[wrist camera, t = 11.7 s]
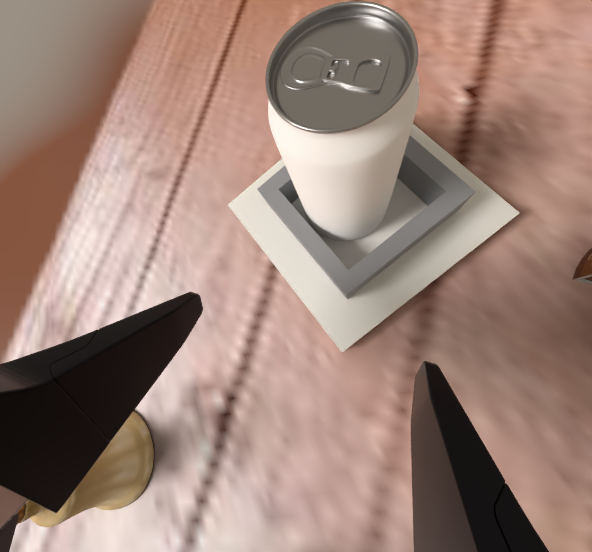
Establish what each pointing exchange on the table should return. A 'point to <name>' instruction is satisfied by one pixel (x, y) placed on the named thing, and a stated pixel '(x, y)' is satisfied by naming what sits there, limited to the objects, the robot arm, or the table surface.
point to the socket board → (374, 238)
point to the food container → (584, 269)
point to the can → (344, 111)
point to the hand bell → (106, 477)
